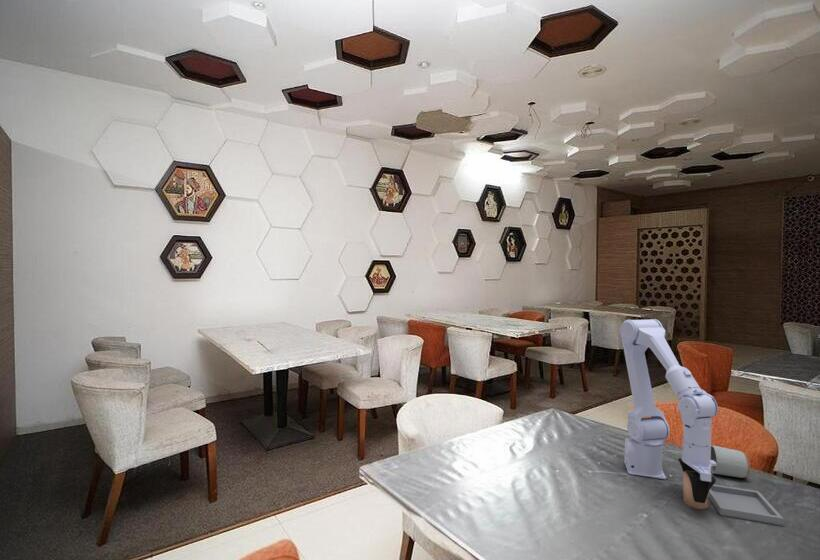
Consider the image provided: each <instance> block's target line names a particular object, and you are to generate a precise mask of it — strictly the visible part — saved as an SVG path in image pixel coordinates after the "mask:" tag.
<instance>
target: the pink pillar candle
mask: <svg viewBox="0 0 820 560" xmlns="http://www.w3.org/2000/svg"><path fill="white" fill-rule="evenodd" d="M690 472H696V471H690ZM682 473H683V472H682ZM682 476H683V479H682V483H683V484H682V501H683V503H685V505H687V506H689V507H691V508H693V509H699V510H706V509H708V508H709V497H708V495H707V498H706V501H705V503H700V502H695V501H694V498H693V493H692V486H691V482H690V479H689V477H688V475H687V473H686V471H684V473H683V475H682Z"/></svg>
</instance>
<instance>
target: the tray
mask: <svg viewBox="0 0 820 560" xmlns="http://www.w3.org/2000/svg"><path fill="white" fill-rule="evenodd" d="M708 500H709V501H710V502H711V504H712V505H713V507H714V508H715V509H716V511H717V512H718V514H719V515H720V516H721V517H727V518H734V519H737V520H738V519H739V520H746V521H751V522H756V523H762V524H767V525H774V526H779V527H784V522H785V521H784V517H783V516H782V515H781V514H780V513H779V512H778V510H776V508H774V506H773V505H772V504H771V503H770V502H769V501H768V500H767V498H765V496H764V495H763V494H762V493H761V492H760V491H758V490H753V489H752V490H751V489H746V488H739V487H731V486H726V485H720V484H713V486H712V487H711V488H710V490H709V492H708Z"/></svg>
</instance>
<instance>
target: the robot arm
mask: <svg viewBox="0 0 820 560" xmlns="http://www.w3.org/2000/svg"><path fill="white" fill-rule="evenodd" d="M619 333H620V339H621V345H622V348H623V354H624V358H625V363H626V369H627V374H628V379H629V384H630V390H631V397H632V401H633V408H632V409H630V410H629V411H628V412H627V414H626V417H627V424H626V429H627V433H628V434H629V437H626V438H625V439H624V461H623V462H624V466H625V468H626V472H627V473H628V474H629V475H633V476H634V475H635V476H641V477H648V478H653V479H661V480H667V476H666V474H665V472H664V471H663V444H665V441H666V439H668V438H669V437H670V434H671V430H670V429H671V428H670V425H669V423H668V422H667V419H666V418H665V417H666V416H665V413H664V411H662V410H661V409H659V408H658V407H657V406H656V404H655V399H654V394H653V388H652V384H651V379H650V378H651V377H650V374H649V368H648V364H647V359H646V355H645V354H646V351H647V349H648V348H649V349H650V350H651V352H652V353H653V354H654V356H655V357H656V358H657V360H658V361H659V362H660V364H661V365H662V366H663V367H664V369H665V370H666V371H665V372H666V373H665V380H667V383H668V384H669V386H670V387H671V389H672V391H673V392H674V394H675V396H676V397H677V399H678V400H679V402H677V408H678V411H679V412H680V417H681V418H680V420H681V421H682V423H683V424H682V428H683V429H682V433H683V434H682V454H681V458H680V457H679V458H678V462H679V465H680V466H681V469H682V473H684V471H686V473H687V475H688V477H689V479H690V482H691V486H692V493H693V498H694V501H695V502H700V503H705V501H706V498H707V495H708V492H709V490H710V488H711V487H712V486H713V484H714V485H716V482H717V479H716V478H715V476H713V475H712V472H711V466H716V462H715V461H713V460H711V445H712V418H713V417H715V416H716V415H718V412H719V406H718V402H717V401H716V399H715V397H714V396H713V395H711V394H709V393H707V392H706V391H705V390H704V389H702V388H701V387H700V386H699V383H698V382H697V380H696V379H695V378H694V376H693V375H692V374H693V373H692V372H691V371H690V370H689V369H688V367H684V366H681V365H680V364H679V361H678V360H677V358H676V355H674V352H673V351H672V348H671V346H670V345H669V343H668V341H667V340H666V338H665V337H666V328H664V327H663V324H662V323H661V321H659V319H656V318H651V319H625V320H624V321H623V322H622V324H621V326H620V327H619ZM690 471H696V472H690Z"/></svg>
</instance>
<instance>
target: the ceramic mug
mask: <svg viewBox="0 0 820 560" xmlns="http://www.w3.org/2000/svg"><path fill="white" fill-rule="evenodd" d="M711 460H713V461H715V462H716V466H711V471H710V473H711V474H713V475H714V474H715V475H719V476H726V477H732V478H733V477H734V478H740V479H741V478H742V479H743V478H744V479H745V478H747V477H749V475H750V471H751V469H750V468H751V467H750V460H749V457H748V455H747V454H746V453H745V452H744V451H740V450H738V449H731V448H727V447H722V446H717V445H712V444H711Z"/></svg>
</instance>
